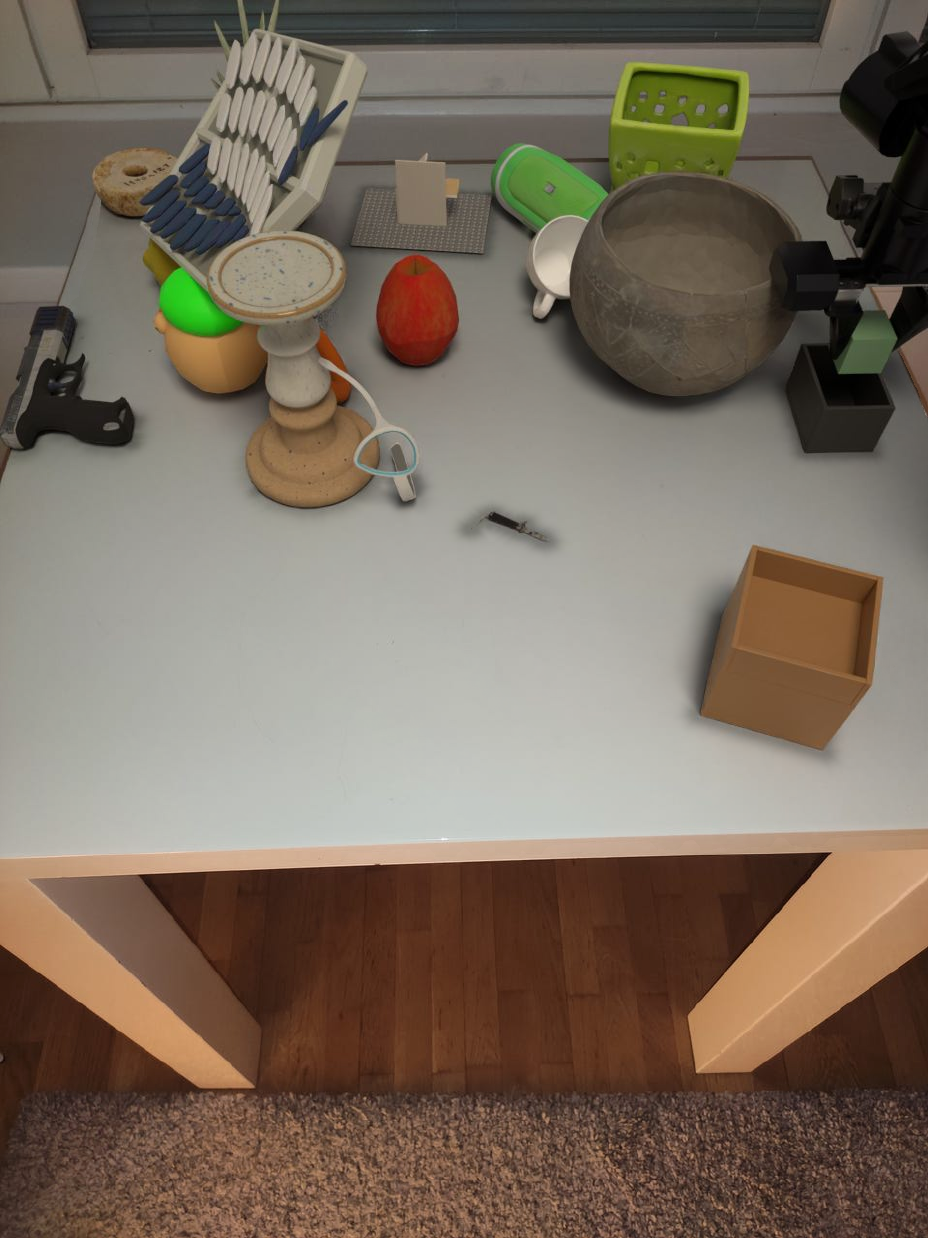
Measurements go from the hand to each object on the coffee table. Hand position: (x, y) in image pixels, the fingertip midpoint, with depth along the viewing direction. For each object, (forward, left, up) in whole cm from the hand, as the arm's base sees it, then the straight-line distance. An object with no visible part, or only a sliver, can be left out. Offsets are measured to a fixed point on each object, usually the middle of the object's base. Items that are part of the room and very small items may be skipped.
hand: (856, 356), depth 81 cm
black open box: (0, 0, -8) cm, 8 cm away
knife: (+25, +25, -8) cm, 36 cm away
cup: (+31, -11, -7) cm, 34 cm away
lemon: (+66, +1, -8) cm, 67 cm away
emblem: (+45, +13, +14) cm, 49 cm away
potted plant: (+65, -14, -8) cm, 67 cm away
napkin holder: (+48, -18, -8) cm, 52 cm away
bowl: (+17, -3, -8) cm, 19 cm away
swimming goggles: (+40, +23, -2) cm, 46 cm away
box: (+1, +31, -8) cm, 32 cm away
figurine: (+58, +13, -8) cm, 60 cm away
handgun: (+65, +16, -6) cm, 67 cm away
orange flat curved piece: (+45, +11, -8) cm, 47 cm away
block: (0, 0, 0) cm, 0 cm away
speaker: (+31, -23, -2) cm, 38 cm away
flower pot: (+23, -29, -8) cm, 38 cm away
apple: (+41, +4, -8) cm, 41 cm away
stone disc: (+77, -10, -6) cm, 78 cm away
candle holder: (+45, +21, -8) cm, 50 cm away
